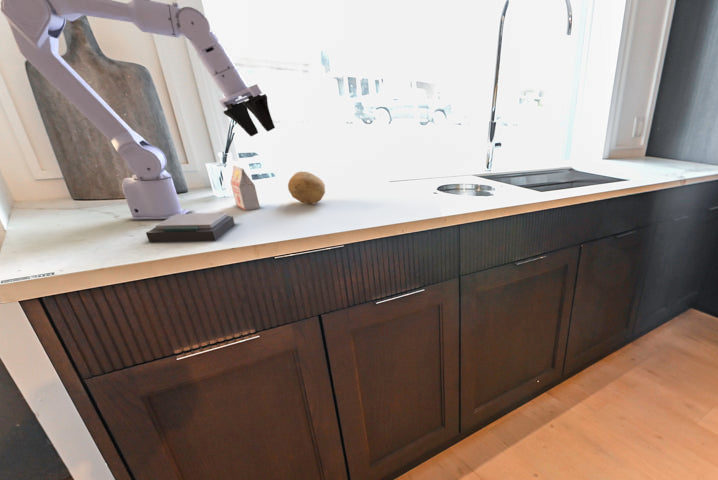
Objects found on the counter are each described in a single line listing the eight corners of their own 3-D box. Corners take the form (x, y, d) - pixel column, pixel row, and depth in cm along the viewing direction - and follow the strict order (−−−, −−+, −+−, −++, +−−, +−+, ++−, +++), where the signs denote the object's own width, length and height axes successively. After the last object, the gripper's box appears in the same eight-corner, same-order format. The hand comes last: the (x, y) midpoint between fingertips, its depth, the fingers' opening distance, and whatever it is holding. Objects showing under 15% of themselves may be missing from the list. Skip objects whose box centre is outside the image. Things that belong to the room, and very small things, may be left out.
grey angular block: (251, 203, 118) (241, 165, 113) (259, 208, 113) (250, 168, 109) (236, 205, 115) (226, 166, 110) (245, 210, 111) (234, 169, 106)
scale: (149, 242, 86) (144, 228, 84) (176, 225, 97) (172, 213, 95) (215, 240, 88) (211, 227, 87) (235, 224, 99) (231, 212, 98)
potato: (293, 209, 113) (287, 178, 110) (289, 199, 124) (283, 170, 120) (331, 207, 118) (327, 176, 114) (324, 197, 128) (320, 169, 125)
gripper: (254, 58, 95) (291, 120, 104) (222, 73, 103) (259, 130, 111) (228, 68, 91) (269, 132, 99) (197, 83, 99) (237, 141, 107)
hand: (262, 132), depth 105 cm, fingers open, 7 cm apart
